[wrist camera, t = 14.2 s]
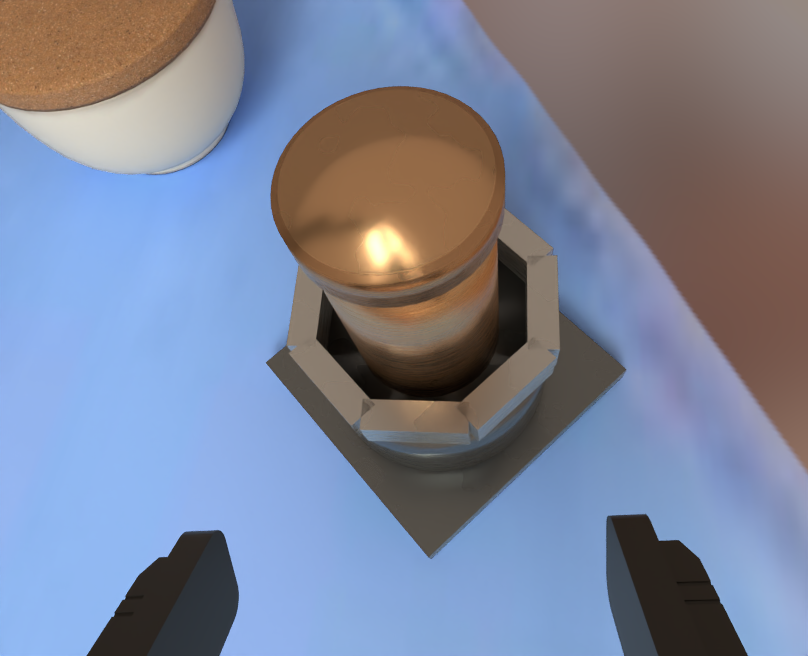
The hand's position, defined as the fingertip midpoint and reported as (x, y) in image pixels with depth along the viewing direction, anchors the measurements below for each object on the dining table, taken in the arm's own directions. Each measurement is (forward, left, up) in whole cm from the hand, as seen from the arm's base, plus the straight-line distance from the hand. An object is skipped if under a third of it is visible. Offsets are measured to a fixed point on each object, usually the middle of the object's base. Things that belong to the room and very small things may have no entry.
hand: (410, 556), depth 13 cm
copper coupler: (-6, +5, -7) cm, 10 cm away
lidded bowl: (-29, +4, -13) cm, 32 cm away
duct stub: (-7, +5, -13) cm, 15 cm away
